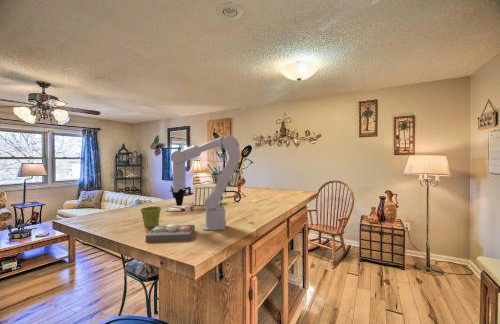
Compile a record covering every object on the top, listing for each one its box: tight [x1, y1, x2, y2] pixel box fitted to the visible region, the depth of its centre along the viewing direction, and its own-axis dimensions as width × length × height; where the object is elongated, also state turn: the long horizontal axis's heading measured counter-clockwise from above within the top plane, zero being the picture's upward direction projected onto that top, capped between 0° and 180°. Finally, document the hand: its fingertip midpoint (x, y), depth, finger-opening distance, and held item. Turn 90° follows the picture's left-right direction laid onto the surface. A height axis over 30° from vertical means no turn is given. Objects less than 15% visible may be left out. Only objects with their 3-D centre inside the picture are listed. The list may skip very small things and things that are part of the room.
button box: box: [145, 224, 196, 243], centre depth 95 cm, size 17×12×3 cm
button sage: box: [152, 227, 164, 232], centre depth 94 cm, size 4×4×3 cm
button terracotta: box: [180, 226, 190, 232], centre depth 95 cm, size 4×4×3 cm
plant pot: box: [139, 205, 162, 229], centre depth 108 cm, size 9×9×9 cm
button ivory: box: [166, 223, 178, 232], centre depth 95 cm, size 4×4×3 cm
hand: (179, 205), depth 107 cm, fingers closed
